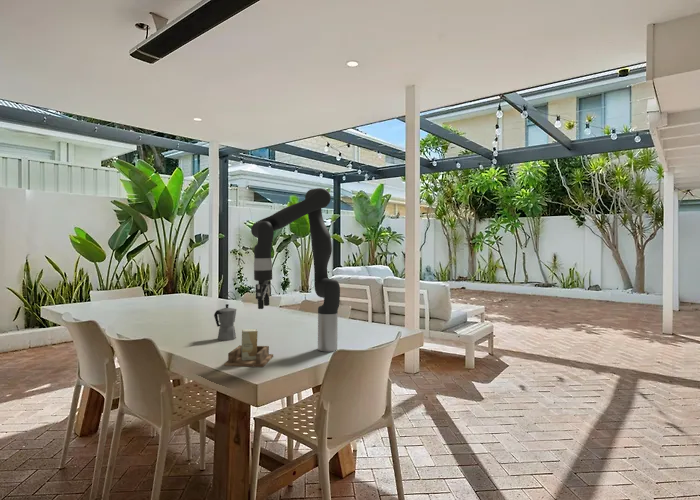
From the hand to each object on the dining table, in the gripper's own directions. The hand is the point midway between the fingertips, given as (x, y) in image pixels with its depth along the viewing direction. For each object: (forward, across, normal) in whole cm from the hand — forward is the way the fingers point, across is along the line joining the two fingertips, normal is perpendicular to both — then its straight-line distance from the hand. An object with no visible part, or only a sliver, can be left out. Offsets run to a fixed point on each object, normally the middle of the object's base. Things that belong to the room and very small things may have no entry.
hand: (263, 307), depth 184 cm
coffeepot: (+23, +37, +32) cm, 54 cm away
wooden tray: (+22, -1, +6) cm, 23 cm away
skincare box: (+22, -2, +6) cm, 23 cm away
